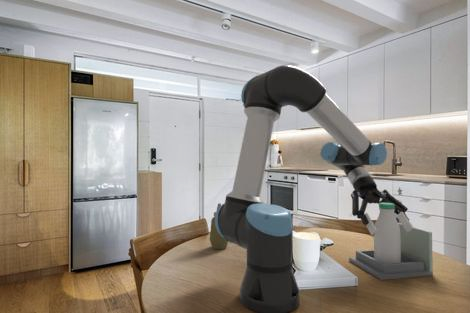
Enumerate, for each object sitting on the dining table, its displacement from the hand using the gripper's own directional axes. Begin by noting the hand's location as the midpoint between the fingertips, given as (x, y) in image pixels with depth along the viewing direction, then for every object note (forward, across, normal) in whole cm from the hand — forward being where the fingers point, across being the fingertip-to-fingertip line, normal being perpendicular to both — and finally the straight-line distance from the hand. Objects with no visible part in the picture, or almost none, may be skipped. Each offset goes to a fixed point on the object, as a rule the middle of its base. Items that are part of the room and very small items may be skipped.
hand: (392, 231), depth 88 cm
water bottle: (-6, -17, -23) cm, 29 cm away
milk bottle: (+6, 0, -10) cm, 12 cm away
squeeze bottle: (-15, +52, -33) cm, 64 cm away
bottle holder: (+7, 0, -10) cm, 13 cm away
